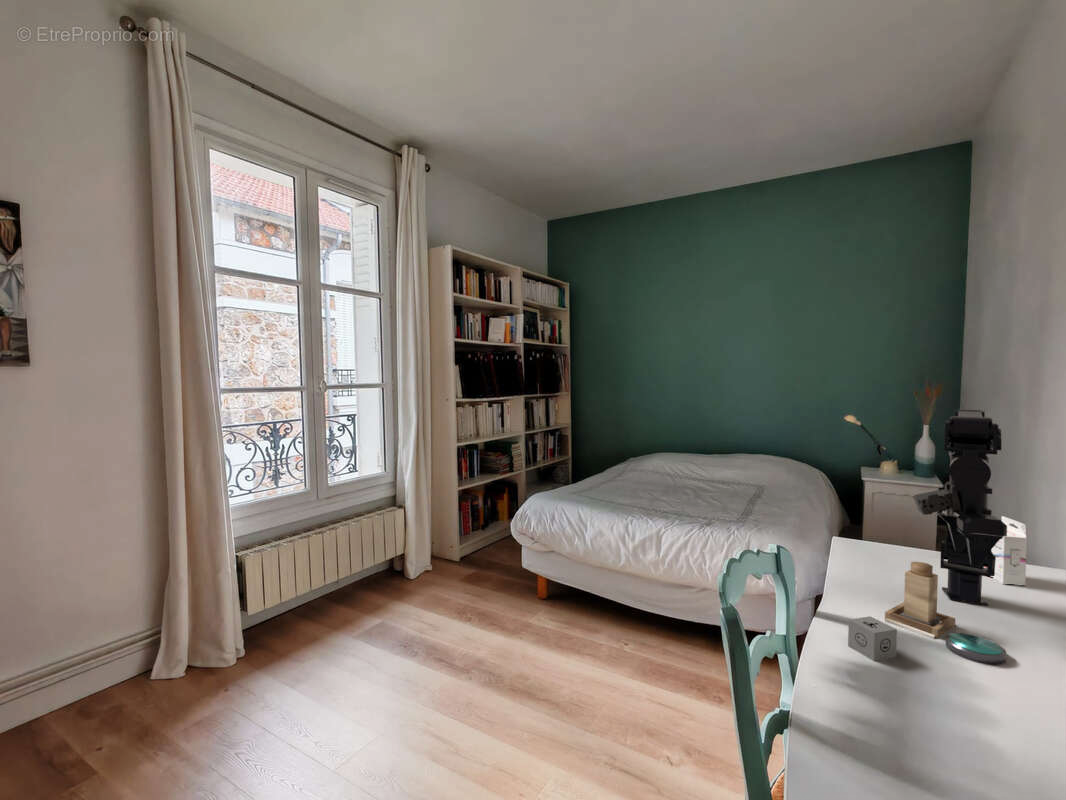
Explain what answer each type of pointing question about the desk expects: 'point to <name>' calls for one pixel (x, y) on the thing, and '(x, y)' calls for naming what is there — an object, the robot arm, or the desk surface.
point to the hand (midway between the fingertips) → (966, 558)
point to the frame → (924, 629)
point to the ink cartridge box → (1011, 554)
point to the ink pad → (976, 648)
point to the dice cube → (872, 638)
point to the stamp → (921, 594)
